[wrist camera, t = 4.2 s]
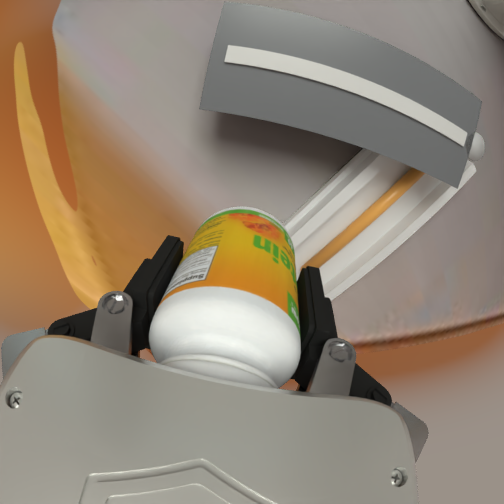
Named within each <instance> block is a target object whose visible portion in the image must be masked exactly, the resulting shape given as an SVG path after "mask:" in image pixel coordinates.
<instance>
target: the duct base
mask: <svg viewBox="0 0 504 504" xmlns="http://www.w3.org/2000/svg"><path fill="white" fill-rule="evenodd" d="M475 172H476V168H475V166H474V164H473V163H472V162H470V161H469V160H467V163H466V166H465V169H464V172H463V175H462V178H461V181H460V184H459V186H458V189H456V188H455V187H453V186H451V185H449V184H447V183H445V182H443V181H441V180H439V179H437V178H435V177H432V176H430V175H428V174H426V173H424V172H422V171H419V170H417V169H415V168H413V167H410V166H408V165H406V164H403V163H401V162H399V161H396V160H394V159H391V158H389V157H386V156H384V155H381V154H378V153H376V152H373V151H370V150H367V149H365V148H363V149H362V150H361V151H360V152H359V153H358V154H357V155H356V156H355V157H353V158H352V159H351V160H350V161H349V162H348V163H347V164H346V165H345V166H344V167H343V168H342V169H341V170H340V171H339V172H338V173H336V174H335V175H334V176H333V177H332V178H331V179H330V180H329V181H328V182H327V183H326V184H325V185H324V186H323V187H322V188H321V189H319V190H318V191H317V192H316V193H315V194H314V195H313V196H312V197H311V198H310V199H309V200H308V201H307V202H306V203H305V204H304V205H302V206H301V207H300V208H299V209H298V210H297V211H296V212H295V213H294V214H293V215H292V216H291V217H290V218H289V219H288V220H286V221H285V222H284V223H283V224H282V225H283V226H284V227H285V228H286V230H287V231H288V233H289V235H290V237H291V239H292V242H293V246H294V252H295V265H296V278H297V280H298V277H299V275H300V272H301V270H302V268H306V267H307V266H312V267H316V268H319V270H320V274H321V280H322V285H323V290H324V296H325V297H328V298H330V300H331V301H332V300H333V299H334V298H336V297H337V296H338V295H340V294H341V293H342V292H344V291H345V290H346V289H348V288H349V287H350V286H351V285H353V284H354V283H355V282H357V281H358V280H359V279H360V278H362V277H363V276H364V275H365V274H367V273H368V272H369V271H370V270H372V269H373V268H374V267H375V266H377V265H378V264H379V263H380V262H381V261H383V260H384V259H385V258H386V257H387V256H389V255H390V254H391V253H392V252H393V251H394V250H396V249H397V248H398V247H399V246H400V245H401V244H402V243H404V242H405V241H406V240H407V239H408V238H409V237H410V236H411V235H413V234H414V233H415V232H416V231H417V230H418V229H419V228H420V227H421V226H422V225H424V224H425V223H426V222H427V221H428V220H429V219H430V218H431V217H432V216H433V215H434V214H435V213H436V212H437V211H438V210H439V209H440V208H441V207H442V206H443V205H444V204H446V203H447V202H448V201H449V200H450V199H451V198H452V197H453V196H454V194H455V193H456V192H457V191H458V190H459V189H460V188H461V187H462V186H463V185H464V184H465V183H466V182H467V181H468V180H469V179H470V178H471V177H472V176H473V175H474V173H475Z"/></svg>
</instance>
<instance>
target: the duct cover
mask: <svg viewBox="0 0 504 504" xmlns="http://www.w3.org/2000/svg"><path fill="white" fill-rule="evenodd" d="M481 104H482V101H481V100H480V99H478V98H477V97H476V96H474V95H473V94H472V93H470V92H469V91H468V90H466V89H465V88H464V87H462V86H461V85H459V84H458V83H456V82H455V81H454V80H452V79H451V78H449V77H448V76H446V75H444V74H443V73H441V72H440V71H438V70H436V69H435V68H433V67H431V66H430V65H428V64H426V63H425V62H423V61H421V60H419V59H417V58H416V57H414V56H412V55H410V54H408V53H406V52H404V51H402V50H400V49H398V48H396V47H394V46H392V45H390V44H388V43H385V42H383V41H381V40H379V39H376V38H374V37H372V36H369V35H367V34H364V33H362V32H359V31H356V30H354V29H351V28H348V27H345V26H342V25H339V24H336V23H333V22H330V21H327V20H324V19H320V18H317V17H313V16H309V15H305V14H301V13H297V12H292V11H288V10H283V9H278V8H272V7H266V6H260V5H253V4H245V3H236V2H224V5H223V9H222V12H221V16H220V19H219V23H218V27H217V31H216V35H215V38H214V43H213V47H212V51H211V55H210V59H209V64H208V68H207V73H206V78H205V82H204V87H203V92H202V98H201V103H200V108H199V109H201V110H209V111H216V112H223V113H229V114H235V115H240V116H246V117H251V118H256V119H261V120H266V121H270V122H275V123H279V124H283V125H288V126H292V127H296V128H299V129H303V130H307V131H311V132H314V133H318V134H321V135H325V136H328V137H331V138H335V139H338V140H341V141H344V142H347V143H350V144H353V145H356V146H359V147H362V148H365V149H367V150H370V151H373V152H376V153H378V154H381V155H384V156H386V157H389V158H391V159H394V160H396V161H399V162H401V163H403V164H406V165H408V166H410V167H413V168H415V169H417V170H419V171H422V172H424V173H426V174H428V175H430V176H432V177H435V178H437V179H439V180H441V181H443V182H445V183H447V184H449V185H451V186H453V187H455V188H456V189H458V186H459V184H460V181H461V178H462V175H463V172H464V169H465V166H466V163H467V160H468V159H470V160H472V161H479V160H480V159H481V158H482V157H483V155H484V151H485V144H484V140H483V138H482V136H481V135H480V134H478V133H476V132H475V131H476V127H477V123H478V119H479V114H480V109H481Z"/></svg>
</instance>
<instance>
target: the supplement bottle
mask: <svg viewBox="0 0 504 504" xmlns="http://www.w3.org/2000/svg"><path fill="white" fill-rule="evenodd" d="M149 344H150V349H151V352H152V354H153V356H154V358H155V360H156V362H157V363H158V364H161V365H165V366H169V367H172V368H176V369H180V370H184V371H188V372H192V373H196V374H200V375H205V376H209V377H214V378H218V379H223V380H228V381H233V382H239V383H244V384H250V385H256V386H262V387H269V388H276V389H278V388H280V387H281V386H282V385H284V384H285V383H286V382H287V381H288V380H289V379H290V378H291V377H292V376H293V374H294V372H295V371H296V369H297V367H298V364H299V360H300V354H301V339H300V324H299V308H298V293H297V278H296V265H295V252H294V246H293V242H292V239H291V237H290V235H289V233H288V231H287V230H286V228H285V227H284V226H283V225H282V223H281V222H280V221H278V220H277V219H276V218H275V217H273V216H272V215H270V214H268V213H267V212H264V211H262V210H259V209H256V208H251V207H231V208H227V209H224V210H221V211H219V212H217V213H215V214H213V215H212V216H210V217H209V218H208V219H206V220H205V221H204V222H203V224H202V225H201V226H200V228H199V229H198V231H197V232H196V234H195V236H194V238H193V239H192V241H191V243H190V245H189V247H188V249H187V250H186V252H185V254H184V256H183V258H182V260H181V262H180V264H179V266H178V268H177V270H176V272H175V274H174V276H173V278H172V280H171V282H170V284H169V286H168V288H167V290H166V292H165V294H164V296H163V298H162V300H161V302H160V304H159V306H158V308H157V310H156V312H155V315H154V317H153V320H152V322H151V326H150V330H149Z"/></svg>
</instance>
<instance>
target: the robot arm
mask: <svg viewBox="0 0 504 504" xmlns="http://www.w3.org/2000/svg"><path fill="white" fill-rule="evenodd" d="M469 2H470V3H471V5H472V6H473V8H474V9H475V10H476V12H477V13H478V14H479V16H480V17H481V18H482V19H483V20H484V22H485V23H486V24H487V25H488V26H489V27H490V28H491V29H492V30H493V31H494V32H495V33H496V34H497V35H498V36H500V37H501V38H502V39H504V0H469ZM183 246H184V242H182V241H180V238H179V237H174V236H169V235H168V236H167V237H166V239H165V240H164V242H163V243H162V245H161V246H160V248H159V249H158V251H157V252H156V254H155V255H154V257H153V258H152V259H148V258H147V259H145V260H144V261H143V263H142V264H141V266H140V267H139V269H138V270H137V271H136V273H135V274H134V276H133V277H132V279H131V280H130V282H129V283H128V285H127V286H126V288H125V290H124V291H123V292H121V291H112V292H109V293H106V294H105V295H103V296H102V297H101V298H100V300H99V303H98V307H97V308H95V309H92V310H88V311H85V312H82V313H79V314H75V315H72V316H69V317H66V318H62V319H59V320H57V321H55V322H54V323H52V324H51V326H50V327H49V329H47V330H45V328H39V329H36V330H31V331H27V332H22V333H18V334H14V335H10V336H8V337H7V338H6V339H5V340H4V341H3V343H2V348H1V349H2V372H3V381H2V383H1V385H0V504H418V486H417V475H416V465H415V463H416V461H417V459H418V457H419V455H420V453H421V451H422V449H423V446H424V444H425V442H426V439H427V438H428V428H427V426H426V424H425V423H424V422H423V421H421V420H420V419H419V418H417V417H416V416H415V415H413V414H412V413H411V412H409V411H408V410H407V409H405V408H404V407H402V406H401V405H400V404H398V403H397V402H395V403H392V399H391V396H390V394H389V392H388V391H387V390H386V389H385V388H384V387H383V386H382V385H381V384H380V383H378V382H377V381H376V380H375V379H374V378H372V377H371V376H370V375H369V374H368V373H367V372H365V371H364V370H363V369H362V368H361V367H359V366H358V365H357V364H356V363H355V361H356V352H355V349H354V348H353V346H352V345H351V344H350V343H349V342H347V341H345V340H344V339H340V338H338V336H337V331H336V325H335V320H334V315H333V309H332V304H331V300H330V298H328V297H325V296H324V290H323V285H322V280H321V274H320V270H319V268H316V267H312V266H307V267H306V268H302V270H301V272H300V275H299V277H298V280H297V293H298V308H299V324H300V339H301V354H300V360H299V364H298V367H297V369H296V371H295V372H294V374H293V376H292V377H291V378H290V379H295V381H296V382H297V383H298V387H297V389H296V391H292V390H283V389H276V388H269V387H262V386H256V385H250V384H244V383H239V382H233V381H228V380H223V379H218V378H214V377H209V376H205V375H200V374H196V373H192V372H188V371H184V370H180V369H176V368H172V367H169V366H165V365H161V364H158V363H154V362H151V361H148V360H144V359H141V358H140V350H143V349H145V348H148V349H150V344H149V330H150V326H151V322H152V320H153V317H154V315H155V312H156V310H157V308H158V306H159V304H160V302H161V300H162V298H163V296H164V294H165V292H166V290H167V288H168V286H169V284H170V282H171V280H172V278H173V276H174V274H175V272H176V270H177V268H178V266H179V264H180V262H181V260H182V258H183Z"/></svg>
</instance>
